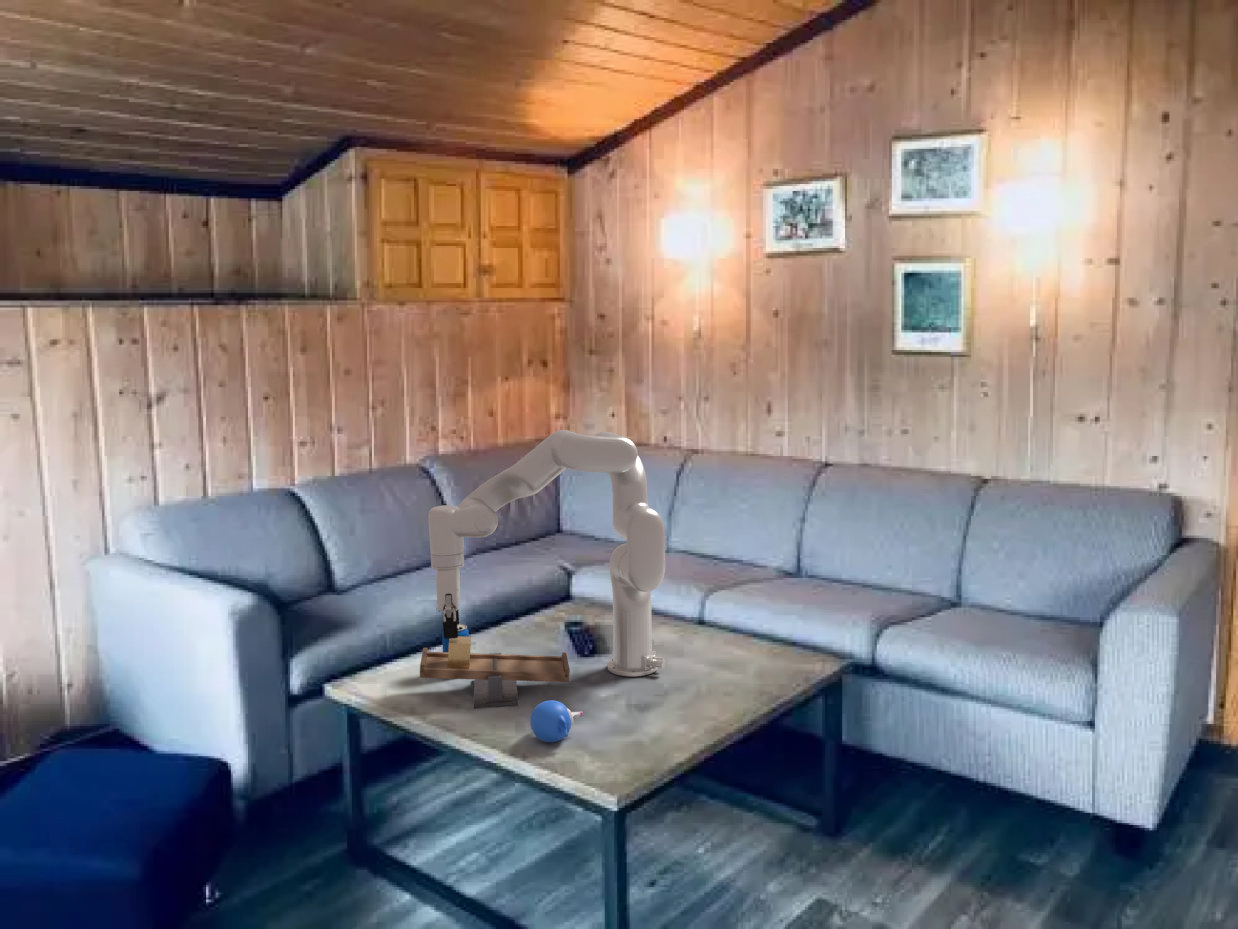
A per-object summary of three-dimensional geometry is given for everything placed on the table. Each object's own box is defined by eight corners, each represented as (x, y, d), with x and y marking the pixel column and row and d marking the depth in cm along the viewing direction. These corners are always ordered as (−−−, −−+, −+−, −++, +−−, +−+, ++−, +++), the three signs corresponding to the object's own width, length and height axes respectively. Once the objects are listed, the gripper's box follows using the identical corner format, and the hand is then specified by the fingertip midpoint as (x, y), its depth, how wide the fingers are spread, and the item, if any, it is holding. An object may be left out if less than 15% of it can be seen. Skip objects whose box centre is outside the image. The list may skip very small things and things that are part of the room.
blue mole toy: (597, 741, 220) (596, 703, 219) (547, 755, 214) (546, 716, 213) (569, 722, 230) (568, 685, 229) (520, 735, 224) (519, 697, 223)
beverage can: (465, 679, 257) (463, 631, 255) (439, 677, 259) (437, 630, 257) (473, 670, 264) (472, 623, 262) (449, 668, 265) (447, 622, 263)
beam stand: (516, 678, 258) (515, 651, 257) (518, 706, 240) (517, 677, 239) (474, 680, 257) (473, 653, 255) (473, 708, 239) (472, 680, 238)
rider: (469, 661, 249) (471, 636, 248) (469, 668, 244) (470, 643, 243) (448, 660, 248) (449, 636, 247) (447, 668, 243) (448, 643, 243)
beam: (564, 664, 256) (565, 651, 256) (568, 684, 243) (569, 670, 243) (422, 659, 252) (423, 646, 251) (419, 679, 239) (420, 665, 238)
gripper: (432, 551, 250) (437, 621, 253) (428, 570, 233) (433, 644, 236) (464, 549, 251) (468, 619, 254) (463, 568, 234) (467, 642, 237)
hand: (451, 631), depth 245 cm, fingers open, 9 cm apart
